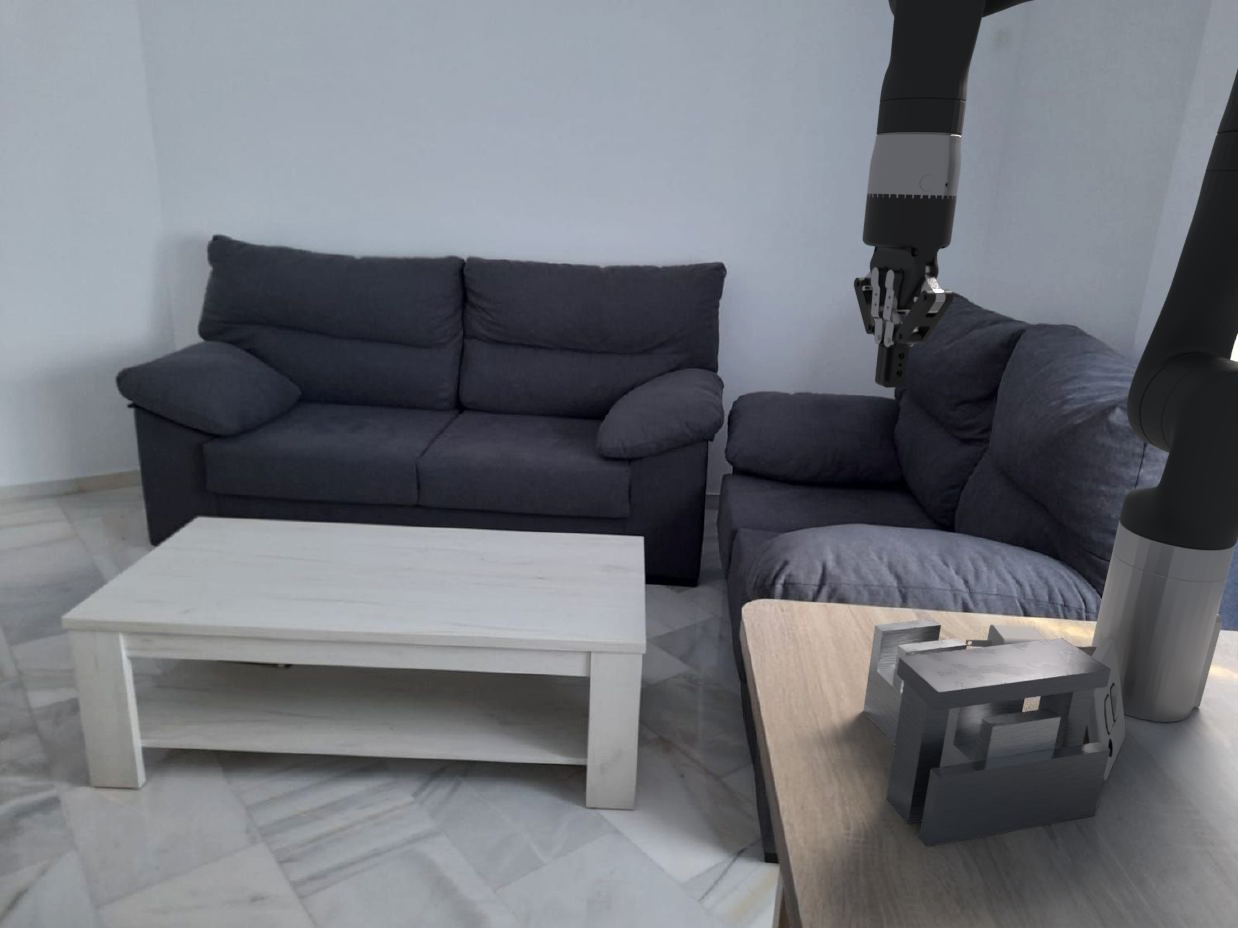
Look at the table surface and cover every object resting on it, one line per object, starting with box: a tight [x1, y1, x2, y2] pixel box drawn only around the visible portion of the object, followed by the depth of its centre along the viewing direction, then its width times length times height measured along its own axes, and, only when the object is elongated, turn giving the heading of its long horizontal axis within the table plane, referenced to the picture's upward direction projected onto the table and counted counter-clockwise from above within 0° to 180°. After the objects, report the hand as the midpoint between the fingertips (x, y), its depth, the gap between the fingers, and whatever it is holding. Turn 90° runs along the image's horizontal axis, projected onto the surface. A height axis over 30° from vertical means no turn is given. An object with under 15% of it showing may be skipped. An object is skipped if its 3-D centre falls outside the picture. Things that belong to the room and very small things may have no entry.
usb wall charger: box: [964, 624, 1048, 648], centre depth 90 cm, size 4×7×4 cm, turn 88°
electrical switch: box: [1075, 638, 1126, 782], centre depth 76 cm, size 9×5×9 cm, turn 141°
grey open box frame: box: [886, 637, 1111, 847], centre depth 68 cm, size 15×6×12 cm, turn 105°
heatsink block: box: [863, 618, 1061, 767], centre depth 74 cm, size 6×16×9 cm, turn 16°
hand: (888, 385), depth 82 cm, fingers closed
